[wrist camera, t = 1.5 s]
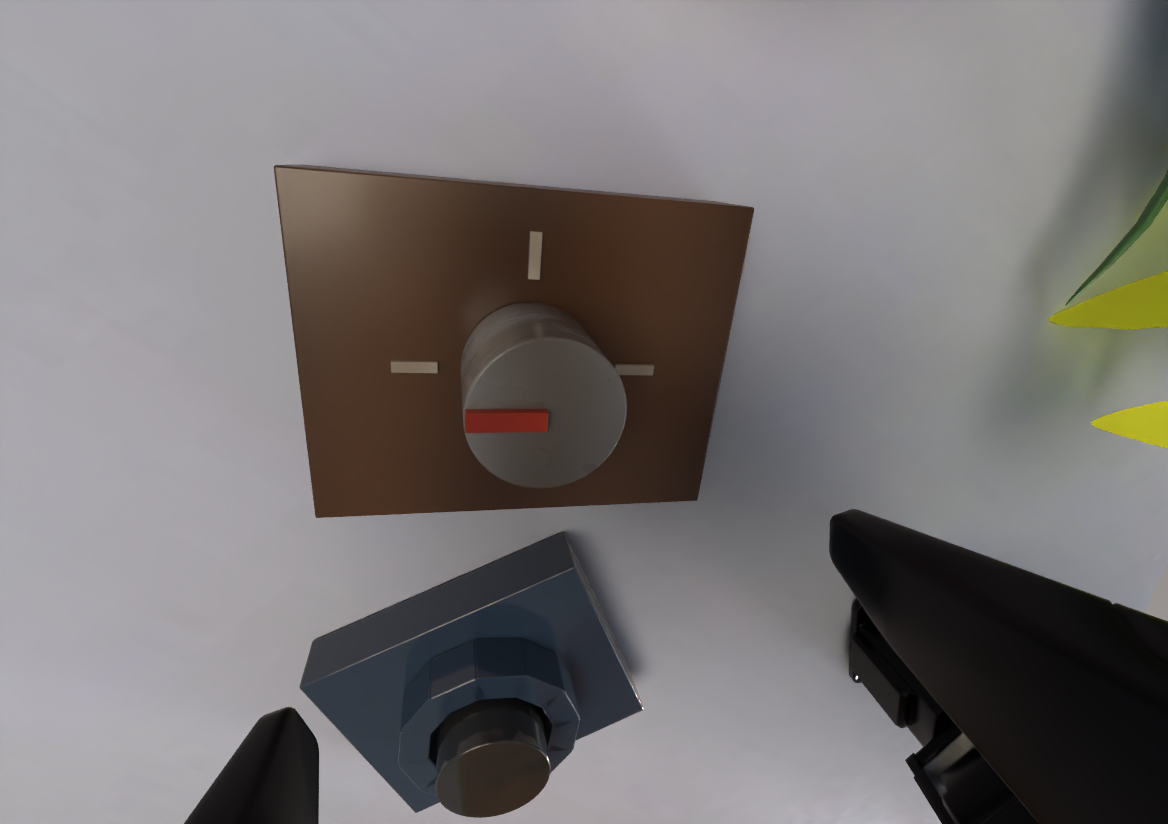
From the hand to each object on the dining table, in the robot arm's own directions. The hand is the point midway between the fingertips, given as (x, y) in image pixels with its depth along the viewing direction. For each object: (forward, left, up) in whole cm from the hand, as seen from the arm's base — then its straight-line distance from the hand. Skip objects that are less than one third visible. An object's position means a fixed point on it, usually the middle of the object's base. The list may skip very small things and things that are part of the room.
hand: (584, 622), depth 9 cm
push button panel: (+4, +14, -14) cm, 20 cm away
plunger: (+4, +14, -10) cm, 18 cm away
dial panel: (-1, -1, -14) cm, 14 cm away
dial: (-1, -1, -11) cm, 11 cm away
